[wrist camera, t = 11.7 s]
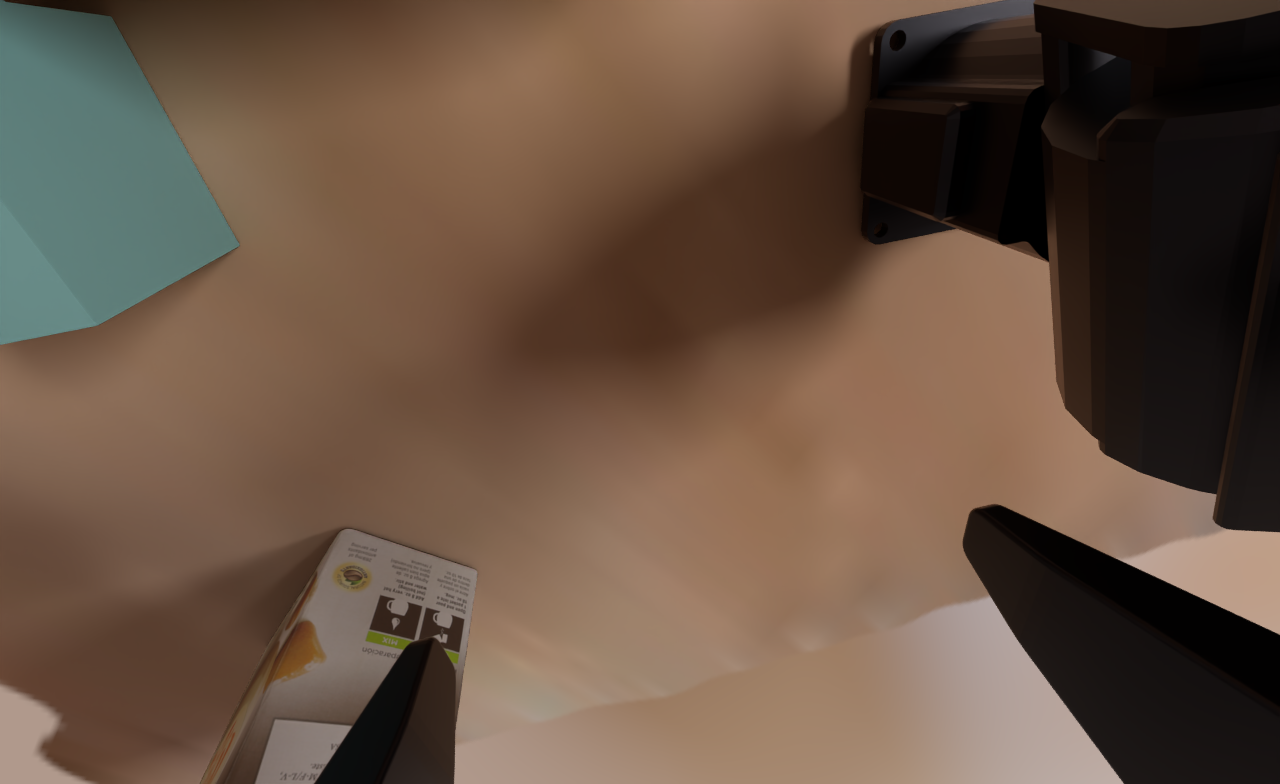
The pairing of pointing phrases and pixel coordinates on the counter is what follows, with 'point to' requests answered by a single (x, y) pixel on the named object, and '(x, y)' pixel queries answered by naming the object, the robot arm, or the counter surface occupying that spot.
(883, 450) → the counter surface
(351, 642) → the coffee box
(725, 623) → the counter surface
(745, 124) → the counter surface
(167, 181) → the crossbar
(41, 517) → the counter surface
